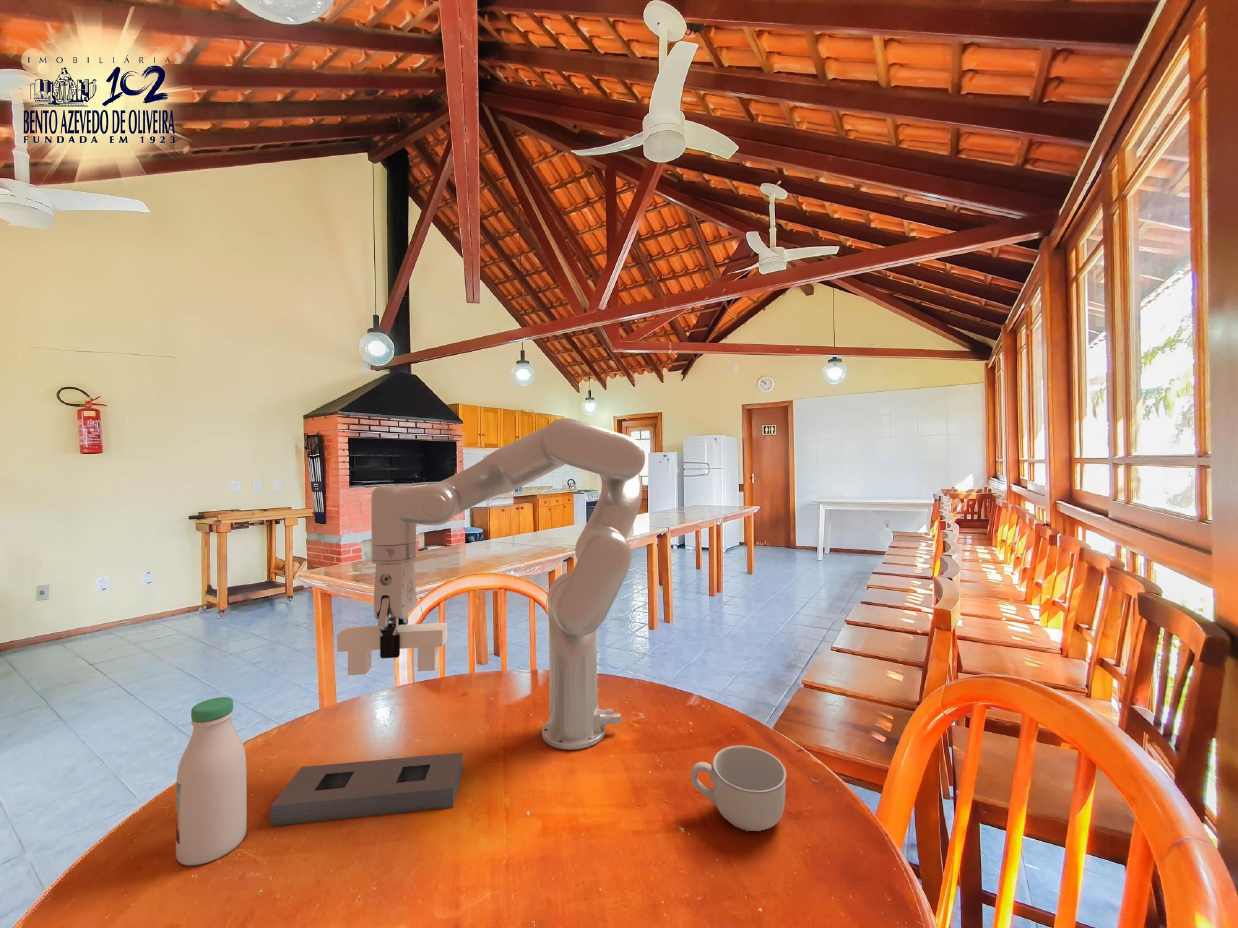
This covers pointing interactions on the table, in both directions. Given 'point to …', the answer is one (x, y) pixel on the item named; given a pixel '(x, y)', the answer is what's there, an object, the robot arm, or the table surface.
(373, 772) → the grey base board
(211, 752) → the milk bottle
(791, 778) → the table surface
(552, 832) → the table surface
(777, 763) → the teacup
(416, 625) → the white peg bar
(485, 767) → the table surface
